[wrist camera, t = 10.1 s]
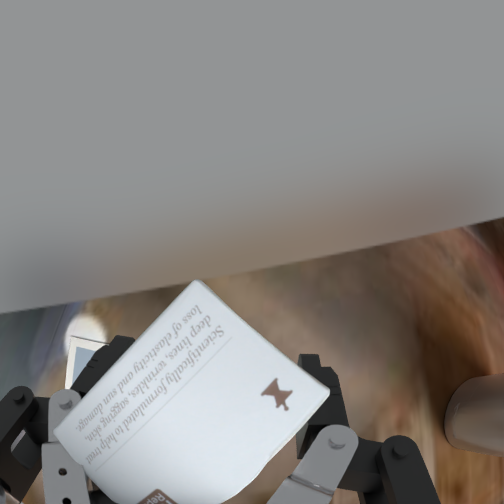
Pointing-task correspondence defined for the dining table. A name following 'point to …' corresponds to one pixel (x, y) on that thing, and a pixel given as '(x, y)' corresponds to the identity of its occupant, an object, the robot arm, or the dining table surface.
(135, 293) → the dining table surface
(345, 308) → the dining table surface
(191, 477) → the skincare box
